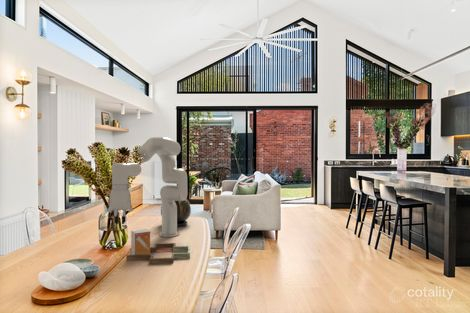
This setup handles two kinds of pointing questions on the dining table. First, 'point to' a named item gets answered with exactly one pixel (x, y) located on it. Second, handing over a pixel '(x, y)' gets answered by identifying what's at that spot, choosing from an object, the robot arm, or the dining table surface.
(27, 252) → the dining table surface
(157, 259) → the trap track
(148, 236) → the small box
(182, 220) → the amphora vase
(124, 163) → the robot arm
